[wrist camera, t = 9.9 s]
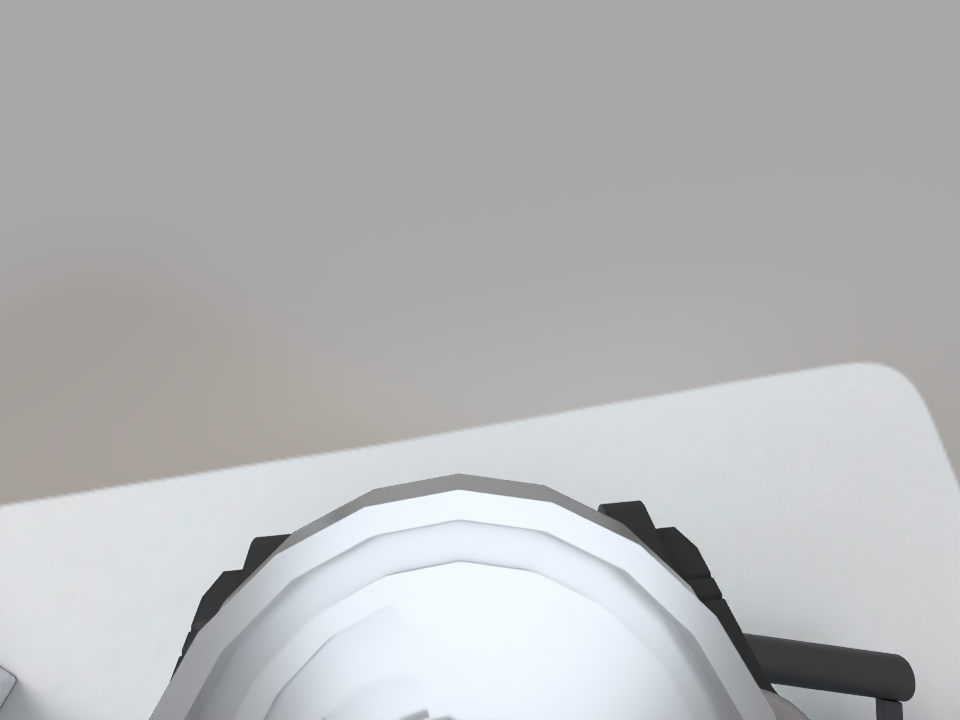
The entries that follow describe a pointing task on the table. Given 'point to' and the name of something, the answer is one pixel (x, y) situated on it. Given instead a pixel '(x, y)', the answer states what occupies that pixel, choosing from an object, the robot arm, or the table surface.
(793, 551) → the table surface
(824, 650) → the drawer
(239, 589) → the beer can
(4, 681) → the ink box
